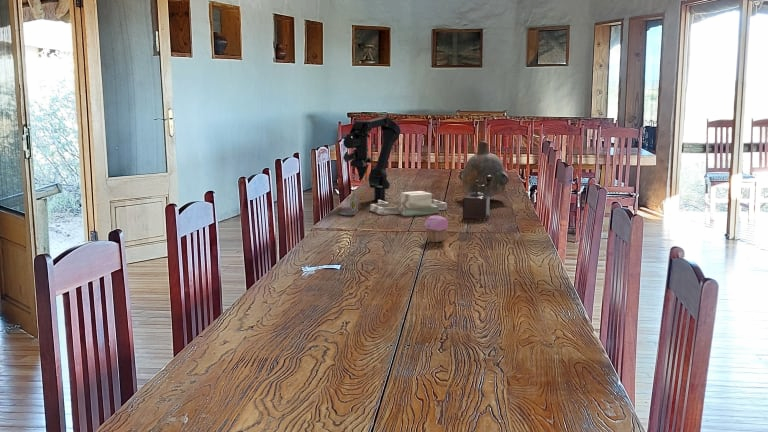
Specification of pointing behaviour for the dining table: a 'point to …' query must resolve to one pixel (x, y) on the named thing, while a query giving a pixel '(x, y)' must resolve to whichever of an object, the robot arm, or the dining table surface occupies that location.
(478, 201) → the manual coffee grinder
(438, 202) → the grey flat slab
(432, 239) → the cupcake
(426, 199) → the birch block
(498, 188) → the jug
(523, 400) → the dining table surface
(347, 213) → the pocket watch
